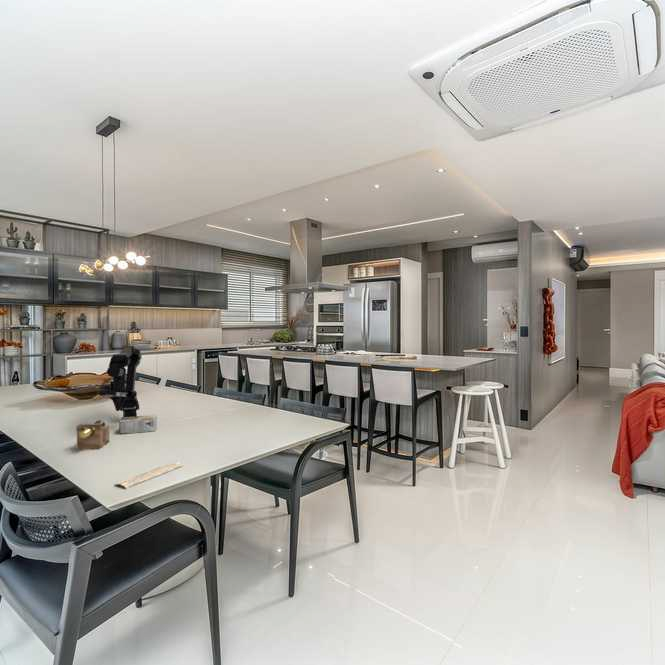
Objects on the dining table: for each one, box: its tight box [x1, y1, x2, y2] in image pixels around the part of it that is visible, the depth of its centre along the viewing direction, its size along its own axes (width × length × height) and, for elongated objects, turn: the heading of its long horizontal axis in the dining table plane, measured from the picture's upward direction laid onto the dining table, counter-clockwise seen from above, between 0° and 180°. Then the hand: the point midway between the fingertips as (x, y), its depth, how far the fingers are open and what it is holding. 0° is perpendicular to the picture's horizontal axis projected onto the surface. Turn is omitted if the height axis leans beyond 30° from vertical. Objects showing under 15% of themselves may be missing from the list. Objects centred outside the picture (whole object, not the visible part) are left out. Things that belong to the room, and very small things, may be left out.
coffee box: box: [118, 414, 158, 435], centre depth 202 cm, size 9×6×16 cm
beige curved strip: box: [113, 461, 185, 490], centre depth 142 cm, size 24×7×2 cm, turn 152°
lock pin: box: [79, 419, 106, 439], centre depth 175 cm, size 17×4×4 cm, turn 9°
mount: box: [76, 423, 110, 451], centre depth 177 cm, size 10×9×10 cm
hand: (117, 411), depth 200 cm, fingers closed
